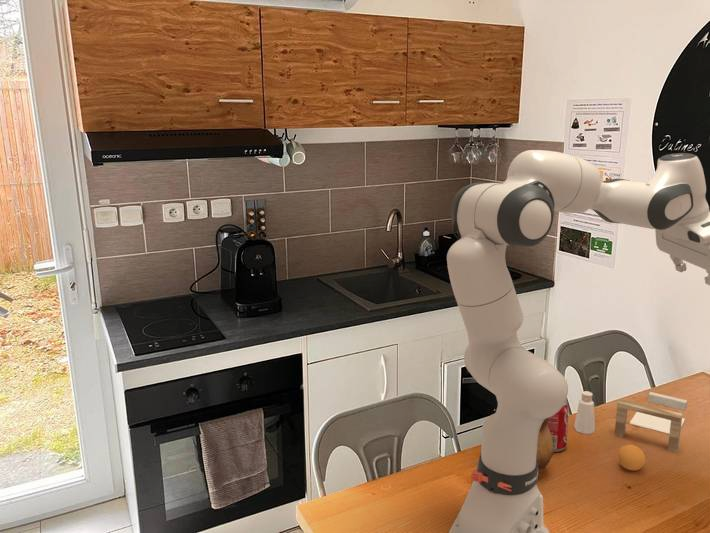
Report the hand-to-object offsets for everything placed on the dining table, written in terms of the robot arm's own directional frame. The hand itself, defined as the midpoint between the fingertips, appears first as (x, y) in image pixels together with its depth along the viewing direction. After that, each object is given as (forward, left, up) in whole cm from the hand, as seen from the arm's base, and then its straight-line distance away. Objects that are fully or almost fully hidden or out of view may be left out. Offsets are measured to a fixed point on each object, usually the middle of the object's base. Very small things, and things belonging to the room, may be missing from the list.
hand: (695, 277), depth 134 cm
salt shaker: (+5, +23, -48) cm, 53 cm away
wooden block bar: (+35, +8, -48) cm, 60 cm away
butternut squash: (-24, +29, -48) cm, 61 cm away
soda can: (-9, +27, -48) cm, 56 cm away
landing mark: (+22, +8, -48) cm, 53 cm away
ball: (-8, +8, -45) cm, 46 cm away
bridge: (+8, +8, -48) cm, 49 cm away
